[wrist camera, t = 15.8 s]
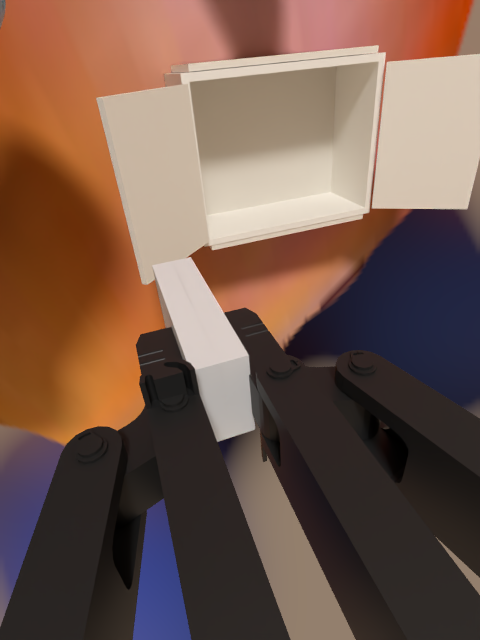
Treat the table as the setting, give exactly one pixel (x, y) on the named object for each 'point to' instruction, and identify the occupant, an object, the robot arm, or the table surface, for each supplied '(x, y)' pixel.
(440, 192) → the flap
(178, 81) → the carton
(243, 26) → the table surface
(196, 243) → the flap
